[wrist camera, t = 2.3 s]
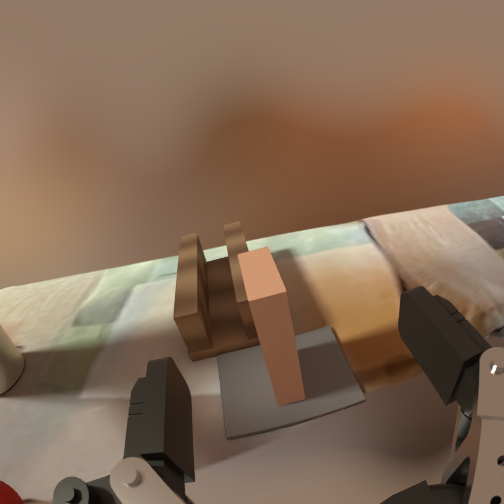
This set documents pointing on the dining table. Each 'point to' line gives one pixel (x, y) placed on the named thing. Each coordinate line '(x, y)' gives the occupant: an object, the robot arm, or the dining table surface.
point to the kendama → (9, 495)
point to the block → (273, 323)
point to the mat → (262, 394)
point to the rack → (213, 298)
